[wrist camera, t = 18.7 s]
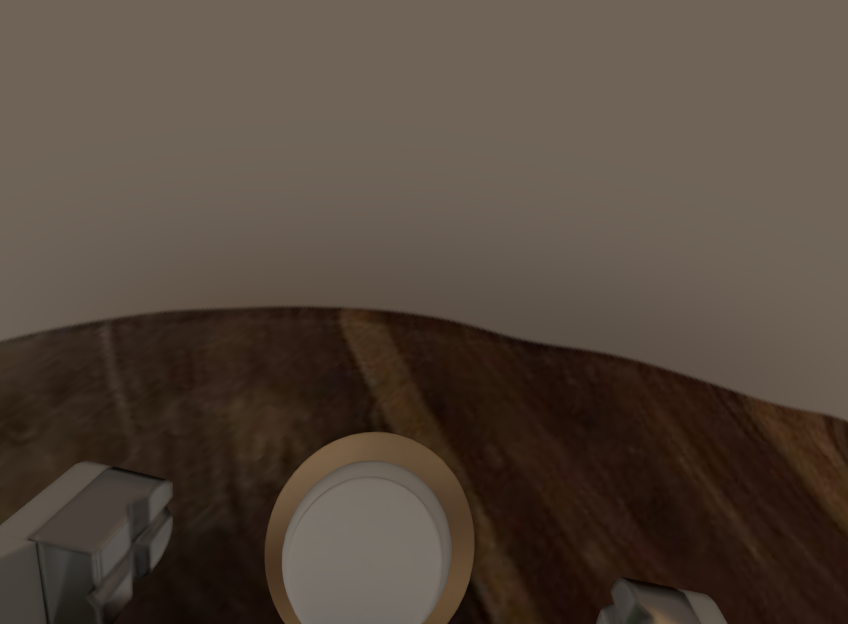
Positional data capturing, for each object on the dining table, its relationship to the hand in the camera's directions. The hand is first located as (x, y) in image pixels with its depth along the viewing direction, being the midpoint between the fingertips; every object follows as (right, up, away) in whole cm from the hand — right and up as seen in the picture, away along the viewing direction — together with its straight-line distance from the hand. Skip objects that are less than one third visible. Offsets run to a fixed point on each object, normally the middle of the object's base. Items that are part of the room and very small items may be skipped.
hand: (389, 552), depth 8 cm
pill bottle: (-2, -5, +11) cm, 13 cm away
